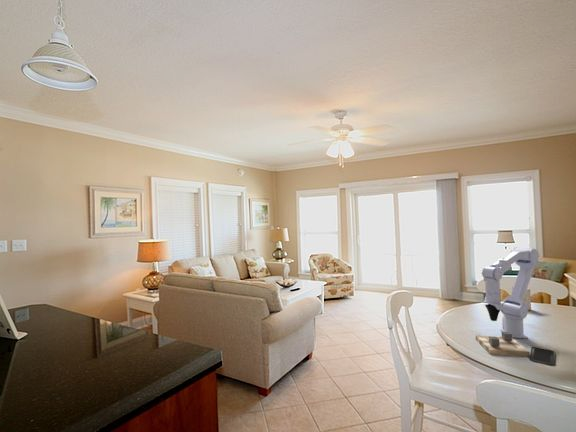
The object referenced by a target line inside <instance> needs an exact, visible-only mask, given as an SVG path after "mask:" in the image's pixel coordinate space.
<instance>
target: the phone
mask: <svg viewBox="0 0 576 432" xmlns="http://www.w3.org/2000/svg"><path fill="white" fill-rule="evenodd" d="M528 357H529V360H530V362H535V363H538V364H543V365H547V366H551V365H554V366H555V364H556V360H555V359H556V352H555V351H554V350H553V349H552V350H551V349H546V348H541V347H538V346H531V349H530V356H528Z"/></svg>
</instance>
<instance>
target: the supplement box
mask: <svg viewBox="0 0 576 432" xmlns="http://www.w3.org/2000/svg"><path fill="white" fill-rule="evenodd" d="M513 288H514V286H512V287H511V291H512V290H513ZM531 297H532V296H531V288H529V287H528V288H527V291H526V294H525V297H524V301H525V302H526V303H527V305H528V311H530V310H532V300H531V299H532V298H531Z"/></svg>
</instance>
